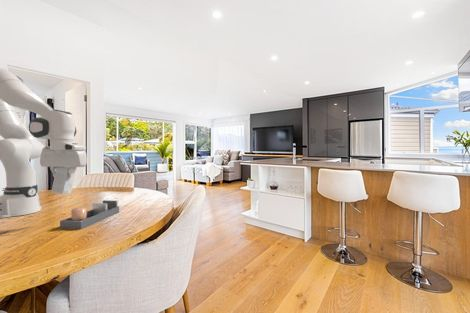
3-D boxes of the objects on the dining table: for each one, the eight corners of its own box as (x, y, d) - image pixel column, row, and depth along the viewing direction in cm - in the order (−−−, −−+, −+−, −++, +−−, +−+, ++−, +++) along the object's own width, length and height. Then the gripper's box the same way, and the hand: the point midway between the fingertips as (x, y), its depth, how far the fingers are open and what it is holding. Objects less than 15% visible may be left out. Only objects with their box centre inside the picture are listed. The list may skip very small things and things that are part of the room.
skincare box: (71, 194, 95) (76, 168, 98) (62, 193, 91) (68, 166, 93) (59, 193, 96) (64, 167, 98) (50, 193, 92) (56, 166, 94)
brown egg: (68, 226, 88) (68, 210, 88) (78, 222, 93) (78, 207, 93) (79, 227, 87) (79, 210, 87) (89, 223, 92) (89, 207, 92)
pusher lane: (59, 230, 86) (59, 213, 86) (101, 213, 110) (101, 200, 110) (81, 231, 85) (81, 214, 85) (119, 214, 109) (119, 200, 109)
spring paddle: (92, 215, 102) (92, 203, 102) (94, 215, 103) (94, 203, 103) (105, 216, 101) (105, 204, 101) (107, 215, 102) (107, 203, 102)
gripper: (35, 146, 92) (35, 177, 92) (77, 146, 90) (77, 178, 90) (49, 146, 98) (49, 175, 99) (89, 146, 96) (89, 176, 97)
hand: (63, 176), depth 94 cm, fingers closed on skincare box, 6 cm apart
